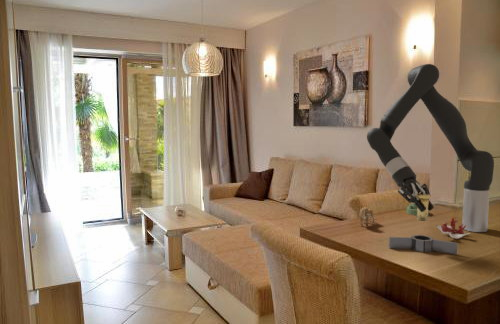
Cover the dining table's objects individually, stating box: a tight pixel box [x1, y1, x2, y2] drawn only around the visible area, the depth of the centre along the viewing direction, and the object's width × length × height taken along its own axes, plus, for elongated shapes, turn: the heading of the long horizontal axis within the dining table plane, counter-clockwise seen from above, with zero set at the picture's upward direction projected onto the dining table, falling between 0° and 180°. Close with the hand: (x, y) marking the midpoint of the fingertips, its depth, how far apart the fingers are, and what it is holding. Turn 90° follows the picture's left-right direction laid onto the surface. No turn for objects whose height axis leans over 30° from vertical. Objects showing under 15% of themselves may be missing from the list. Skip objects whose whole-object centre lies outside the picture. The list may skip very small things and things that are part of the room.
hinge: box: [388, 234, 459, 256], centre depth 141 cm, size 10×22×4 cm, turn 55°
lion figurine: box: [358, 206, 375, 228], centre depth 175 cm, size 15×5×9 cm, turn 154°
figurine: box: [436, 217, 471, 240], centre depth 156 cm, size 15×12×7 cm
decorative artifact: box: [406, 202, 429, 216], centre depth 195 cm, size 10×7×10 cm
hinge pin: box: [416, 193, 432, 222], centre depth 141 cm, size 5×5×9 cm
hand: (427, 209), depth 139 cm, fingers closed on hinge pin, 3 cm apart
